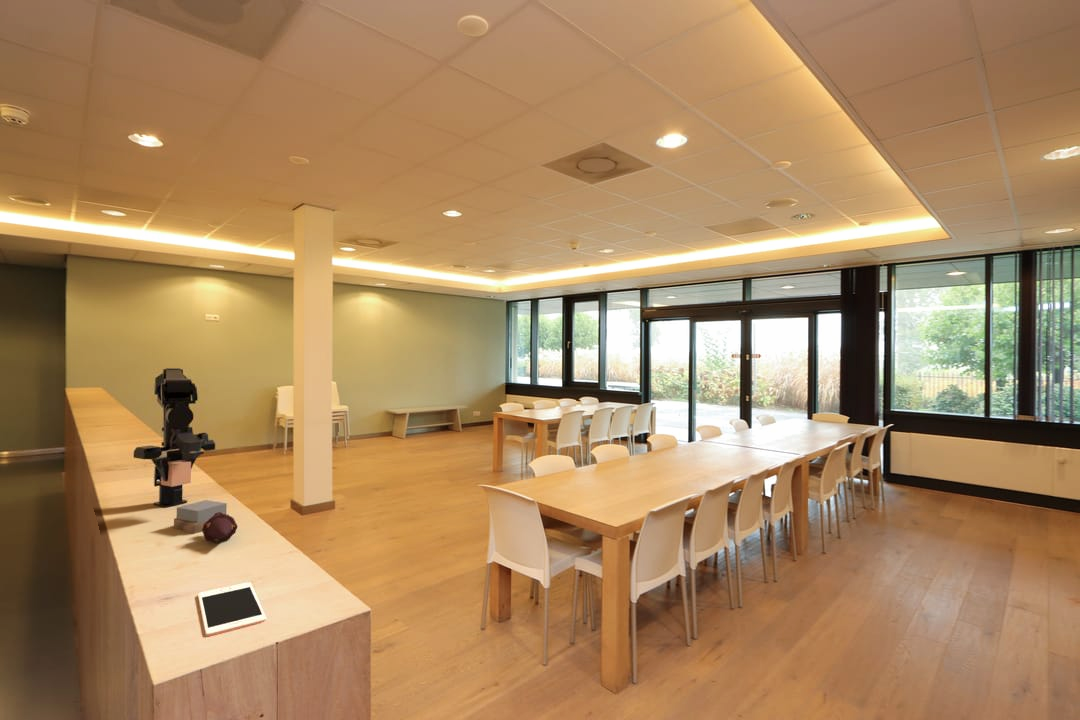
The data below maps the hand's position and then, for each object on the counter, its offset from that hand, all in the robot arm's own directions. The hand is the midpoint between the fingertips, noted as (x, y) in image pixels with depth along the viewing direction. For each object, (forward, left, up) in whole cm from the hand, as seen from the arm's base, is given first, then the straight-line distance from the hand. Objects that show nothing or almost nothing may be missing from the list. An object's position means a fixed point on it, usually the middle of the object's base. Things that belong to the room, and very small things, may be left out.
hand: (175, 479), depth 145 cm
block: (0, 0, -1) cm, 1 cm away
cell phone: (+64, -26, -11) cm, 70 cm away
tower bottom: (+14, -1, -11) cm, 18 cm away
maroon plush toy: (+29, -6, -11) cm, 32 cm away
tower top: (+14, -1, -8) cm, 16 cm away
